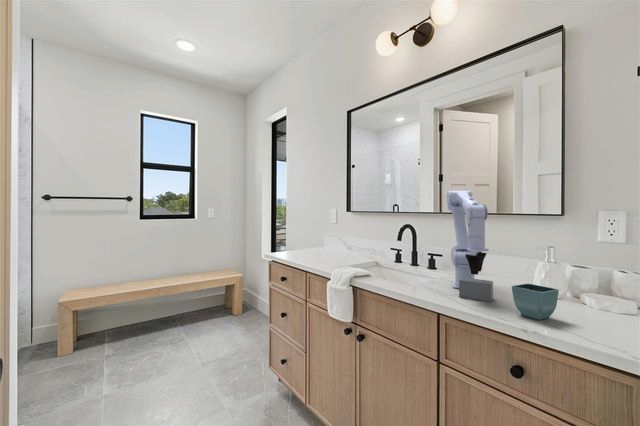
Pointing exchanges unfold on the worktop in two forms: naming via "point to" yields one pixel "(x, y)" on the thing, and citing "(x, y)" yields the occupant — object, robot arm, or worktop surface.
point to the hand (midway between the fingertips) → (476, 272)
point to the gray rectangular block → (476, 289)
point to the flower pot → (535, 300)
